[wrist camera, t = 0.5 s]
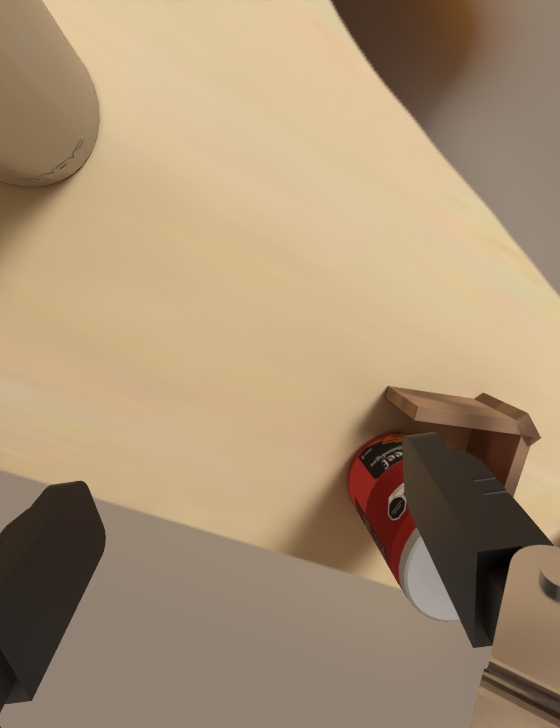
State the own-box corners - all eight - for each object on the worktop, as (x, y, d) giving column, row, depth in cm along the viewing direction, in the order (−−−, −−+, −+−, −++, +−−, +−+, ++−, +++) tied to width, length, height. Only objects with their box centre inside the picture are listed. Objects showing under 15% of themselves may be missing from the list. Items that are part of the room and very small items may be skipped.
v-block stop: (381, 391, 32) (409, 412, 27) (454, 339, 32) (496, 352, 27) (454, 507, 35) (491, 544, 31) (520, 461, 35) (568, 491, 30)
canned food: (439, 431, 33) (541, 505, 23) (421, 516, 35) (509, 621, 24) (352, 426, 32) (418, 503, 22) (338, 514, 34) (392, 625, 23)
